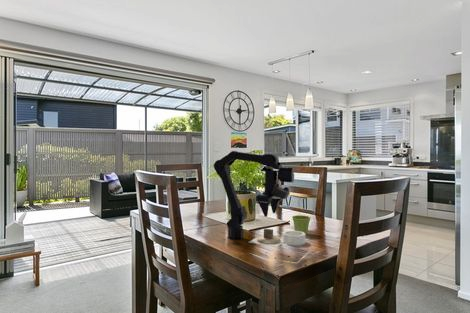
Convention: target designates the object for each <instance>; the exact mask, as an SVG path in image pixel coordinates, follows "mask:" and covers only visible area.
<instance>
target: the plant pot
mask: <svg viewBox="0 0 470 313" xmlns="http://www.w3.org/2000/svg"><path fill="white" fill-rule="evenodd" d="M291 218H292V221H293V227H294V231H301V232H304V233H305V234H306V235H308V232H309V225H310V221H311V219H312V218H311V216H308V215H300V214H299V215H293V216H292V217H291Z"/></svg>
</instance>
